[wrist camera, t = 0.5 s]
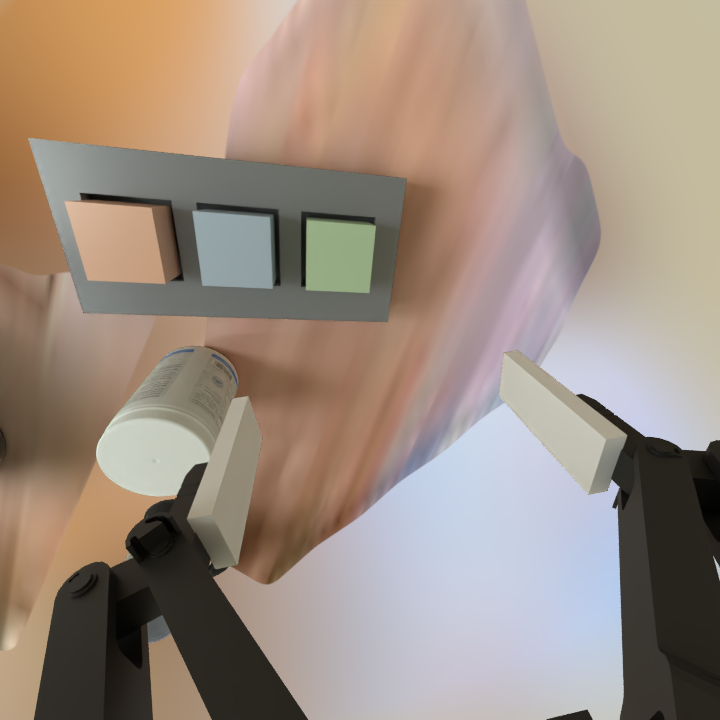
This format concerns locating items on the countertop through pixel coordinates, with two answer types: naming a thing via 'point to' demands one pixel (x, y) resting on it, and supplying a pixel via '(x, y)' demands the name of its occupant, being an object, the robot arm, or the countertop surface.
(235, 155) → the countertop surface
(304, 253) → the console
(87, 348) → the countertop surface
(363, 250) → the green button
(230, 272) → the slate button
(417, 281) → the countertop surface
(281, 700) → the robot arm
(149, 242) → the terracotta button
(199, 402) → the supplement tub
